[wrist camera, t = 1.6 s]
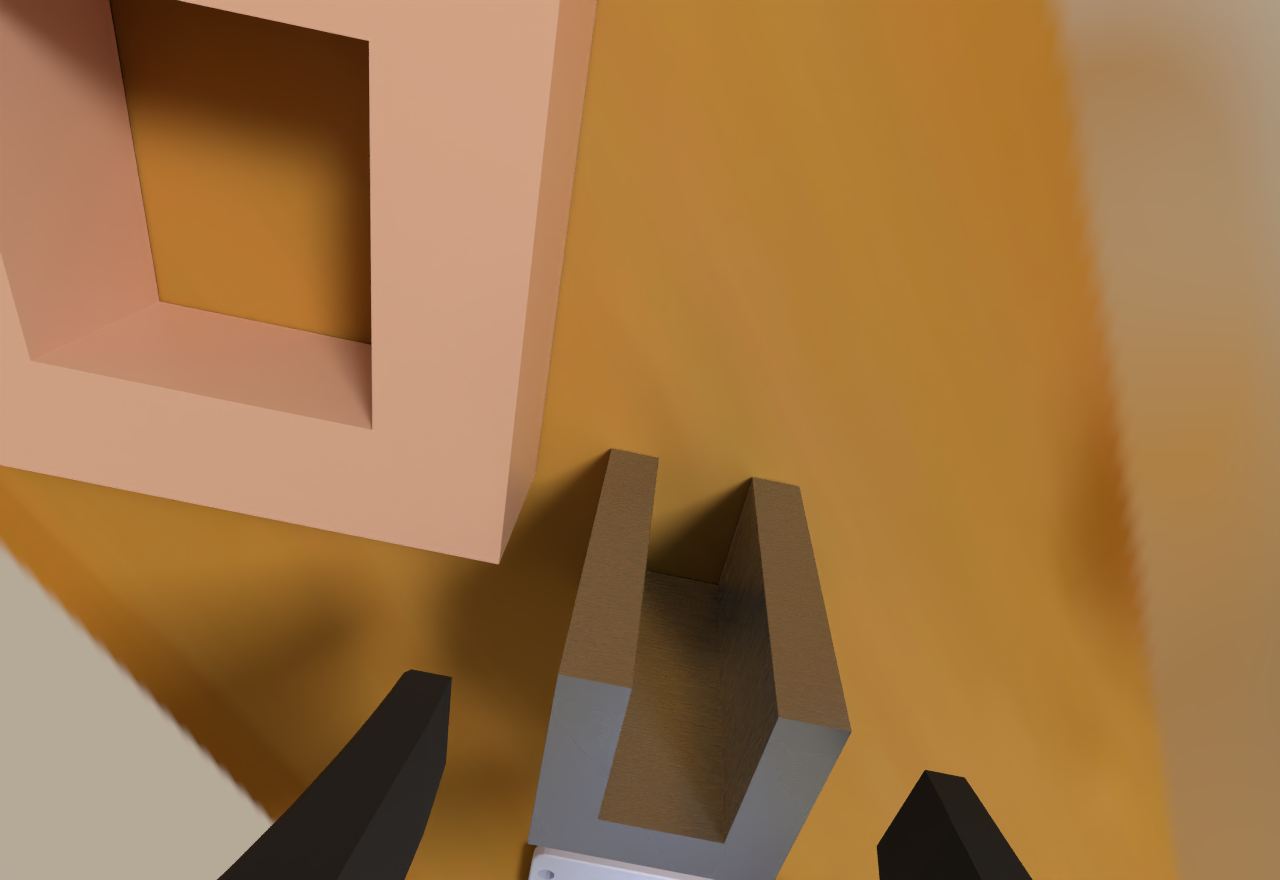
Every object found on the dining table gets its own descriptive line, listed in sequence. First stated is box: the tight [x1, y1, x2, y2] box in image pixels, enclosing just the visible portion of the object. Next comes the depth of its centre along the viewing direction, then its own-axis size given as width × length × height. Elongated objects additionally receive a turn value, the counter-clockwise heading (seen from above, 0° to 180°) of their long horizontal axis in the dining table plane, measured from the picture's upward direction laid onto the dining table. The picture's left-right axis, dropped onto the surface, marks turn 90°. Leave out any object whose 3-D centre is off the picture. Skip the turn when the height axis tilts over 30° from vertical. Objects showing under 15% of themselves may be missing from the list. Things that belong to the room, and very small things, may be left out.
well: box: [0, 0, 597, 564], centre depth 11 cm, size 10×10×3 cm
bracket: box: [527, 449, 851, 880], centre depth 13 cm, size 4×4×6 cm
